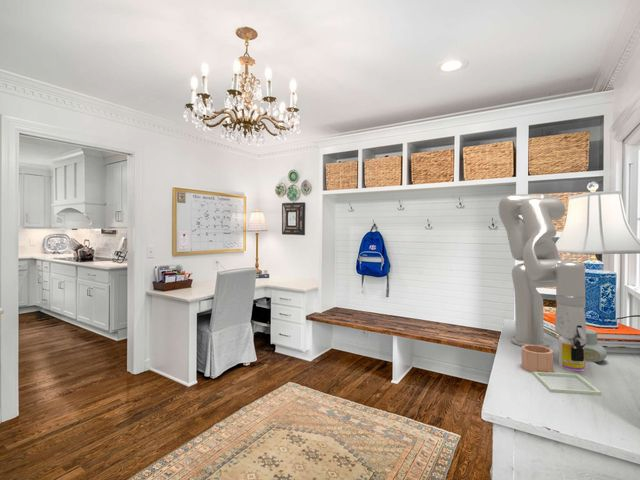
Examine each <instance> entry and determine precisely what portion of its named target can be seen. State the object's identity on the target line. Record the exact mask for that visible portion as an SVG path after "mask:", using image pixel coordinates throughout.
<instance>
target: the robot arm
mask: <svg viewBox="0 0 640 480" xmlns="http://www.w3.org/2000/svg"><path fill="white" fill-rule="evenodd" d="M565 214H566V207H565V204H564V202H563V201H562V200H561V199H560V198H559V197H556V196H553V195H549V194H544V193H529V194H528V193H526V194H525V193H524V194H523V193H522V194H521V193H520V194H511V195H510V194H509V195H507V196H504V197H502V198H501V199H500V200H499V204H498V215H499V218H500V221H501V223H502V225H503V226H504V229H505V231H506V236H507V240H508V244H509V250H510V253H511V256H512V258H513V259H514V260H515V261H518V262H519V261H520V262H522V263H518V264H516V265H514V266H513V268H512V270H511V278H512V283H513V289H514V290H513V291H514V311H515V312H514V313H515V314H514V317H515V318H514V319H515V335H514V336H512V337H511V343H512V344H515V345H517V346H519V347H520V346H521V347H522V346H524V345H539V346H544V347H547V348H548V347H549V346H550V345H549V341H548V340H546V339H544V336H545V335H544V334H545V333H544V332H545V331H544V330H545V329H544V325H545V324H544V299H543V296H542V295H541V293H540V292H539V291H538V290H537V288H556V289H555V290H556V291H555V292H556V293H555V294H556V297H555V298H556V300H555V302H556V303H555V304H556V308H555V320H554V321H555V323H554V329H555V331H556V333H558V334H559V335H558V338H559V337H560V336H564V337H566V338H568V339H571V342H572V346H573V348H571V360H572V361H584V348H585V347H584V346H585V343H586V342H587V339H586V329H587V321H586V311H585V308H586V267H585V264H584V263H582V262H578V261H572V260H570V259H562V258H560V255H559V249H558V248H557V245H556V243H555V242H554V241H553V240H552V239H554V238H555V237H556V235H557V229H556V227H555V224H554V221H556V220H557V221H558V220H561V219H563V217H564V216H565ZM520 216H521V217H520ZM574 336H579V338H574ZM575 340H579V341H577V343H575ZM584 362H585V361H584Z"/></svg>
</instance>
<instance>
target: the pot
mask: <svg viewBox="0 0 640 480" xmlns="http://www.w3.org/2000/svg"><path fill="white" fill-rule="evenodd" d="M521 369H523V370H525V371H527V372H529V373H530V372H531V373H533V372H549V373H555V372H554V350H553V349H552V348H550V347H548V346H547V347H544V346H539V345H524V346H521Z"/></svg>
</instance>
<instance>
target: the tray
mask: <svg viewBox="0 0 640 480" xmlns="http://www.w3.org/2000/svg"><path fill="white" fill-rule="evenodd" d="M532 375H533V376H534V377H535V378H536V380H538V381H539V382H540V383H541V384H542V385H543V386H544V387H545V388H546V389H547V390H548V391H549V392H550V393H557V394H573V395H588V396H589V395H590V396H602V391H601V390H599V389H598V388H596V387H595V386H594V385H592V383H590V382H589V381H587V380H586V378H584V377H582V376H581V375H580V374H578V373H569V372H568V373H567V372H566V373H565V372H564V373H563V372H553V373H549V372H532ZM542 376H543V377H557V378H559V377H560V378H573V379H574V378H575V379H577V380H579V381H580V382H581V383H582V384H584V385H585V386H586V387H587V388H589V389H590V390H589V389H588V390H587V389H574V388H573V389H571V388H558V387H557V388H555V387H552V386H551V385H550V384H549V383H548V382H547V381H546V380H545V379H544V378H543V377H542Z"/></svg>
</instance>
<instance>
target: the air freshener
mask: <svg viewBox="0 0 640 480" xmlns="http://www.w3.org/2000/svg"><path fill="white" fill-rule="evenodd" d="M586 339H587V342H586V343H585V346H584V347H585V348H584V362H591V363H592V362H593V363H599V362H602V361H604V360H605V359H606V358H607V355H608V353H607V352H608V351H607V350H606V349H605V347H604V346H602V345H601V344H599V343H598V333H597V331H596V330H594V329H590V328H586Z"/></svg>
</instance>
